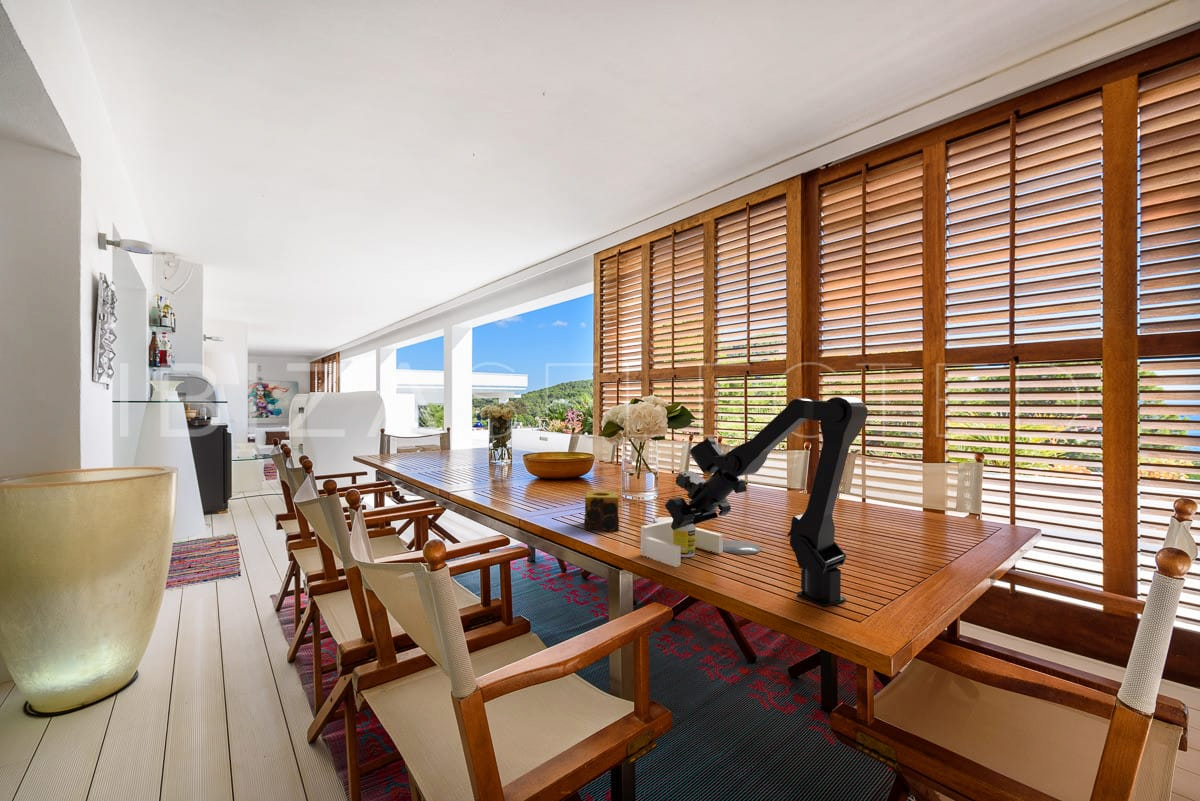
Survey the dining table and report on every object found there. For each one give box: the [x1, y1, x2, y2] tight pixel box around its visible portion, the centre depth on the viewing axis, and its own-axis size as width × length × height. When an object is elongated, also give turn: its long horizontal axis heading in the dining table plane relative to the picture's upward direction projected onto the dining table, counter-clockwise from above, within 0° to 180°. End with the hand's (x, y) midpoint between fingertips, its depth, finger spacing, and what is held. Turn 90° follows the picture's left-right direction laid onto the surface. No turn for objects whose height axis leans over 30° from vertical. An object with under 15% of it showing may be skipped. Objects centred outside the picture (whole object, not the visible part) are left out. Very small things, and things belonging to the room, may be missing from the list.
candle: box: [583, 490, 620, 532], centre depth 150 cm, size 10×10×10 cm
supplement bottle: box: [673, 520, 696, 558], centre depth 124 cm, size 5×5×10 cm
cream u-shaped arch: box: [640, 520, 724, 568], centre depth 125 cm, size 11×18×7 cm, turn 130°
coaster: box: [723, 539, 762, 555], centre depth 130 cm, size 11×11×1 cm
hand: (680, 526), depth 125 cm, fingers closed on supplement bottle, 5 cm apart
